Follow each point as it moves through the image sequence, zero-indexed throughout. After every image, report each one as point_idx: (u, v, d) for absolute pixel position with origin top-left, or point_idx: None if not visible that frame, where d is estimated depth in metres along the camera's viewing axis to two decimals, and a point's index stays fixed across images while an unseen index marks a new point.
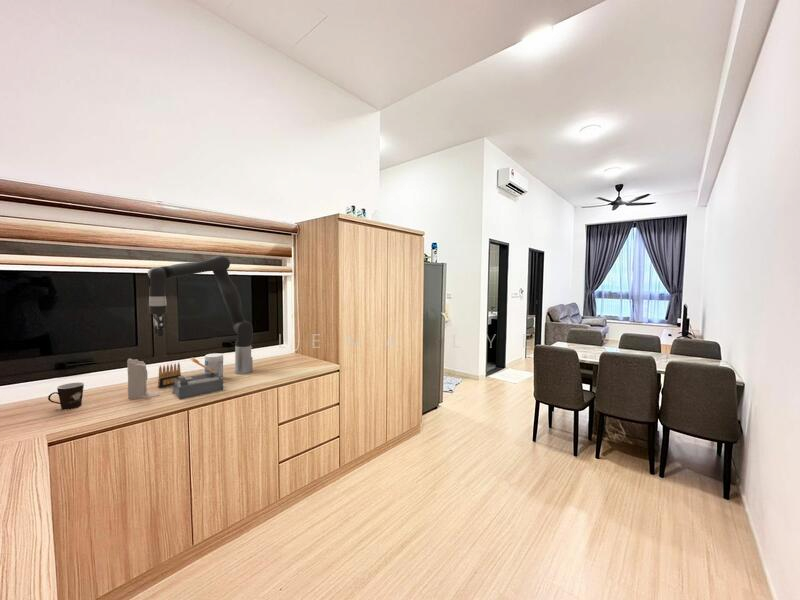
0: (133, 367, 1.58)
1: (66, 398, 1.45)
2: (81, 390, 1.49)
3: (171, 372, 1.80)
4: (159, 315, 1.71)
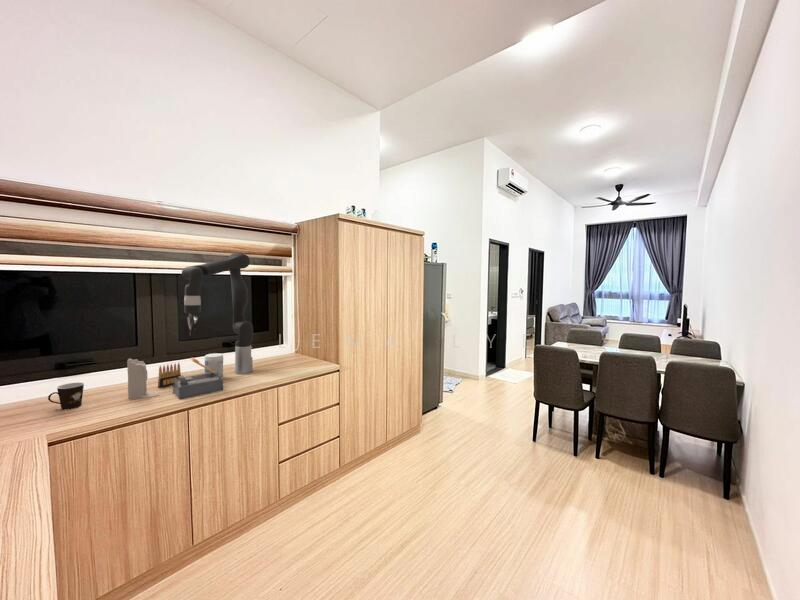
0: (133, 367, 1.58)
1: (66, 398, 1.45)
2: (81, 390, 1.49)
3: (171, 372, 1.80)
4: (194, 314, 1.72)
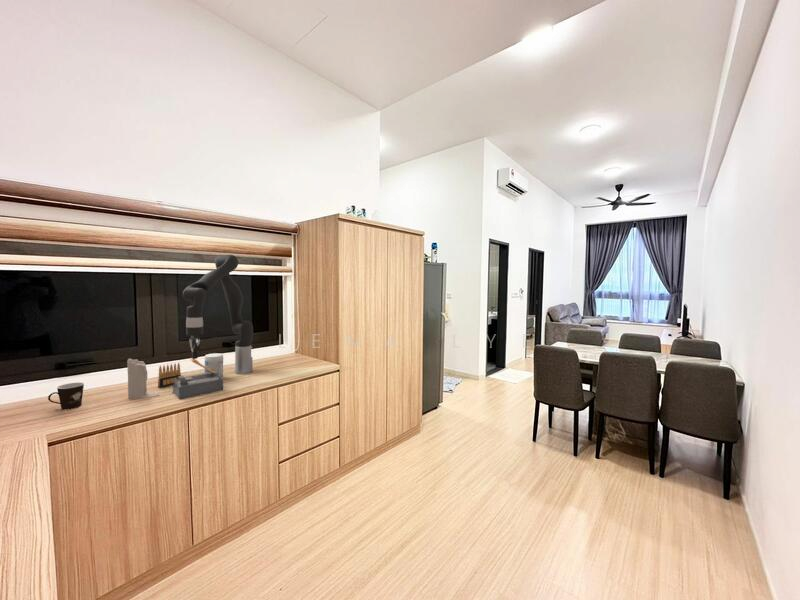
0: (133, 367, 1.58)
1: (66, 398, 1.45)
2: (81, 390, 1.49)
3: (171, 372, 1.80)
4: (196, 337, 1.67)
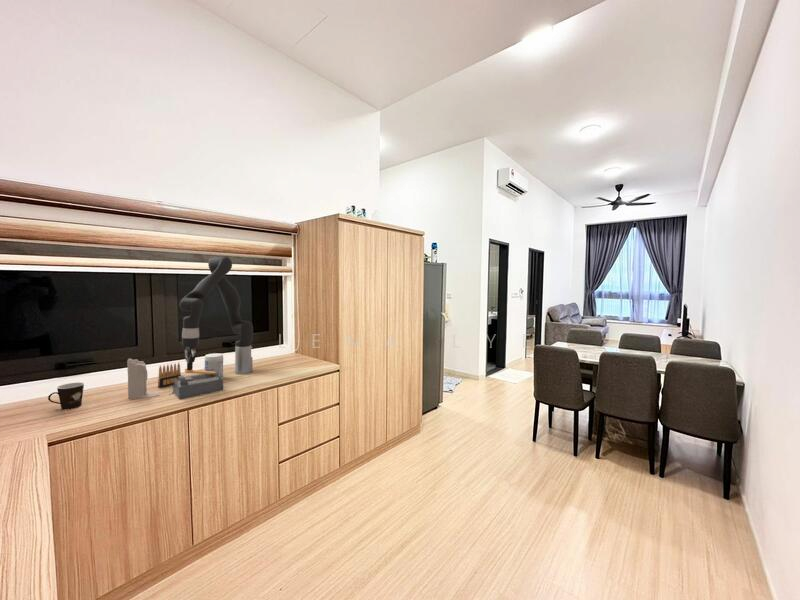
0: (133, 367, 1.58)
1: (66, 398, 1.45)
2: (81, 390, 1.49)
3: (171, 372, 1.80)
4: (192, 348, 1.66)
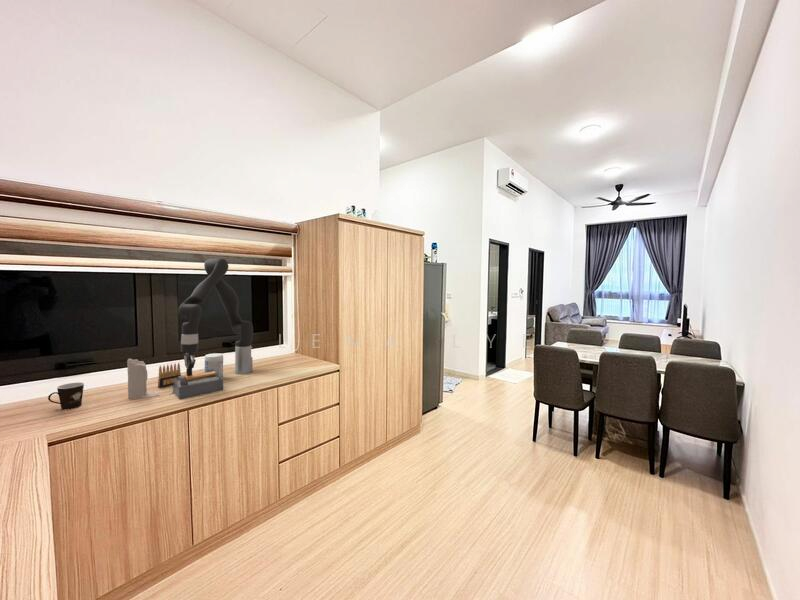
0: (133, 367, 1.58)
1: (66, 398, 1.45)
2: (81, 390, 1.49)
3: (171, 372, 1.80)
4: (191, 353, 1.66)
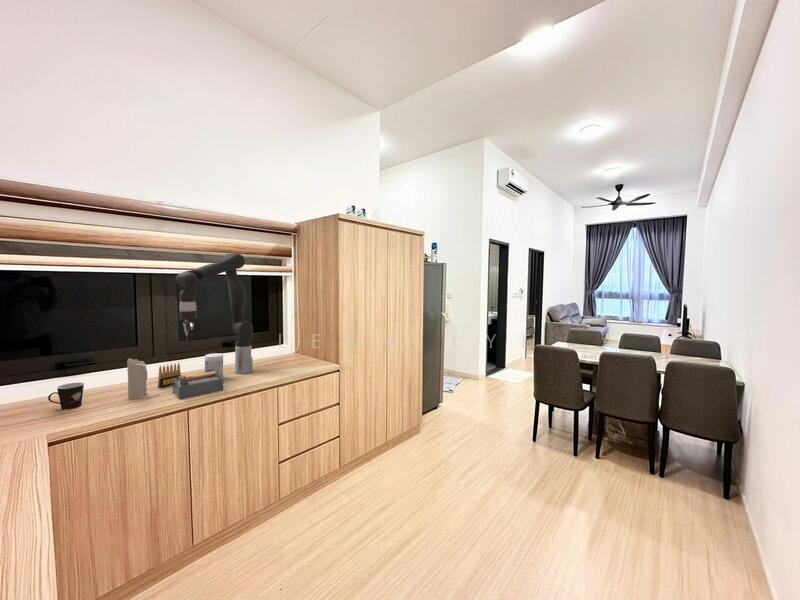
0: (133, 367, 1.58)
1: (66, 398, 1.45)
2: (81, 390, 1.49)
3: (171, 372, 1.80)
4: (190, 320, 1.72)
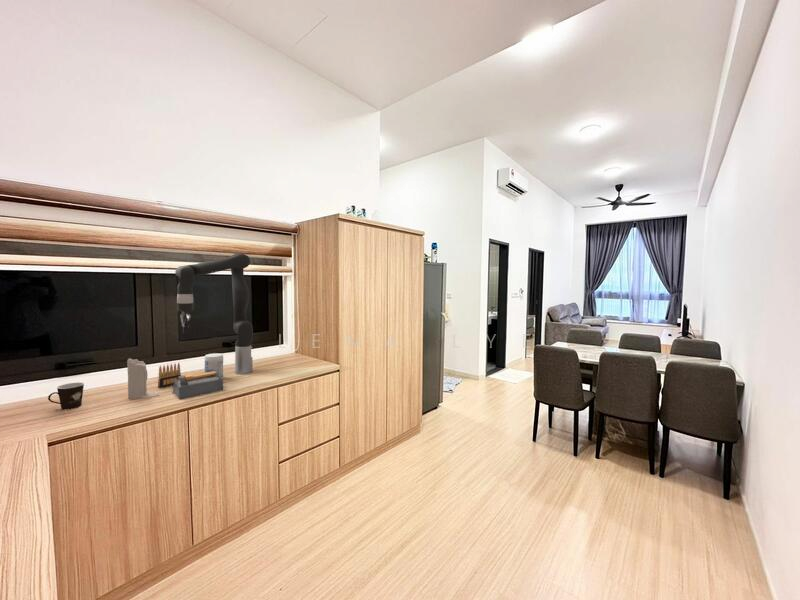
0: (133, 367, 1.58)
1: (66, 398, 1.45)
2: (81, 390, 1.49)
3: (171, 372, 1.80)
4: (187, 312, 1.77)
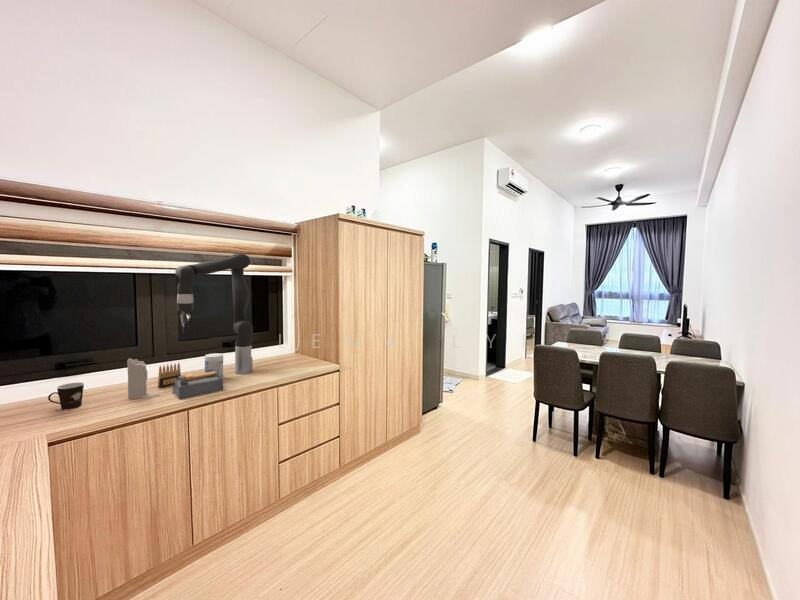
0: (133, 367, 1.58)
1: (66, 398, 1.45)
2: (81, 390, 1.49)
3: (171, 372, 1.80)
4: (187, 312, 1.77)
